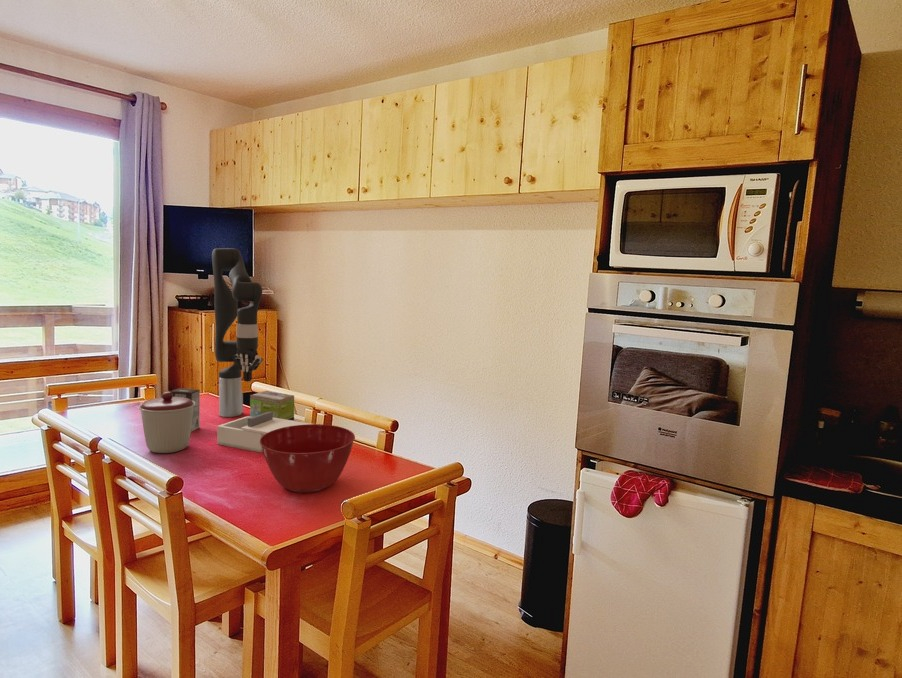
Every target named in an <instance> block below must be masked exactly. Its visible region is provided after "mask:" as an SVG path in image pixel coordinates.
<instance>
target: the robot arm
mask: <svg viewBox="0 0 902 678" xmlns="http://www.w3.org/2000/svg"><path fill="white" fill-rule="evenodd" d="M211 253H212V254H211V261H212V262H211V263H212V271H213V272H212V273H213V282H214V283H213V284H214V285H213V286H214V287H213V289H214V293H213V294H214V297H213V299H214V300H213V301H214V304H213V305H214V321H215V341H214V342H215V343H214V344H215V345H214V356H215V360H216V361H217V362H220V363H232V365H230V366H227V367H226V368H222V369H221V370H219V372H218V405H219V406H218V408H219V409H218V410H219V411H218V413H219V414H218V415H219V416H220V417H224V418H232V417H238V416H241V415H242V414H244V393H243V392H242V378H243V381H244V382H251V381H252V380H253V372H254V371H257V369H258V367H259V366H260V365H261V364H262V362H263V360H264V358H263V357H260V356H259V354H258V348H259V326H258V310H259V307H260V302H261V299H262V296H263V288H262V286H261V284H260V283H259V282H253V281H252V279H251V277H250V276H249V274H248V272H247V270H246V266H245V262H244V259H243V255H242V253H241V251H240V250H239V249H238V248H233V247H231V248H230V247H227V248H226V247H225V248H224V247H222V248H220V247H218V248H214V249H213V250H212V252H211ZM223 272H229V274H228V280H229V282H230V284H231V285H232V288H230V286H229V285H228V284H227V282H226V281H225V279H224V276H223ZM239 302H250V303H249V305H248V306H244V307H240V308H239ZM235 321H237V323H236V340H224V338H225V336H226V333H227V331H228V330H229V328H230V327H231V326H232V325H233V324H234V322H235Z"/></svg>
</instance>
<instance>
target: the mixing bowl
mask: <svg viewBox="0 0 902 678" xmlns="http://www.w3.org/2000/svg"><path fill="white" fill-rule="evenodd" d="M355 438H356V436H355V433H354V432H353V431H351V430H349V429H347V428H344V427H342V426H337V425H331V424H321V423H319V424H318V423H317V424H316V423H311V424H307V425H295V426H289V427H284V428H280V429H276V430H273V431H270V432H268V433H266V434H265V435H263V436H262V437H261V438H260V444H261V445H262V449H263V452H262V453H263V456H264V459H265V461H266V463H267V466H268V468H269V470H270V472H271V474H272V476H273V477H274V479H275V480H276V482H277V483H278V484H279V485H280V486H281V487H283V488H285V489H287V490H289V491H291V492H293V491H294V493H299V494H309V493H310V494H311V493H316V492H320V491H323V490H325V489H327V488H328V487H330V486H331V485H333V484H334V483H335V482H336V481H337V480H338V479H339V477H340V476H341V474H342V472H344V471H343V470H344V468H345V467H346V465H347V462H348V460H349V457H350V454H351V450H352V448H353V445H354V444H353V443H354V441H355Z"/></svg>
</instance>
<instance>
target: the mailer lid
mask: <svg viewBox="0 0 902 678" xmlns="http://www.w3.org/2000/svg"><path fill="white" fill-rule="evenodd" d="M307 424H312V423H310V422H304V421H299V420H298V421H297V420H294V421H292V420H286V419H280V418H274V417H273V412H271V411H269V412H266V413H263V414H260V415H257V416H254V417H251V418H248V425H247V426H244V427H242V428H241V430H245V431H251V432H256V433H262V434H266V433H268V432H270V431H273V430H276V429H280V428H284V427H289V426H295V425H307Z"/></svg>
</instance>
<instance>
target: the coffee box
mask: <svg viewBox="0 0 902 678" xmlns="http://www.w3.org/2000/svg"><path fill="white" fill-rule="evenodd" d="M170 392H171V393H172V394H173V397H184V398H188V399H190V400H192V401H194V402H195V406H194V407H193V417H192V426H191V433H192V432H193V431H196V430H198V429H200V426H201V425H200V423H201V421H200V414H201V413H200V411H201V410H200V409H201V408H200V397H201V396H200V394H201V393H200V389H194V388H184V387H179V388H176V389H173V390H170Z"/></svg>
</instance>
